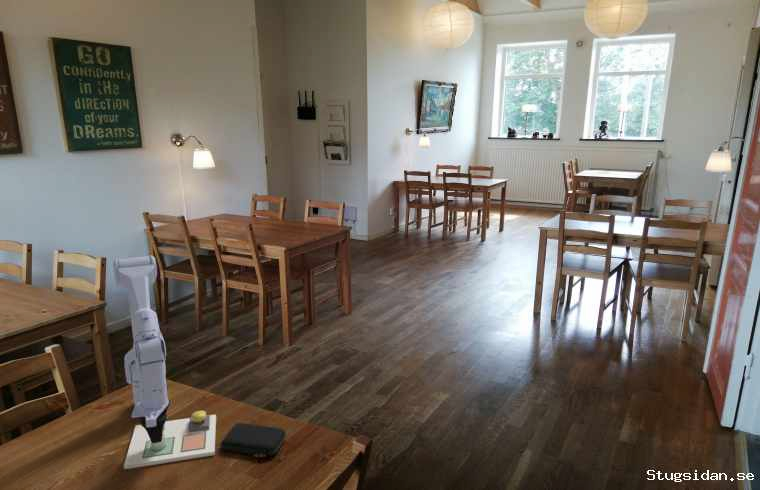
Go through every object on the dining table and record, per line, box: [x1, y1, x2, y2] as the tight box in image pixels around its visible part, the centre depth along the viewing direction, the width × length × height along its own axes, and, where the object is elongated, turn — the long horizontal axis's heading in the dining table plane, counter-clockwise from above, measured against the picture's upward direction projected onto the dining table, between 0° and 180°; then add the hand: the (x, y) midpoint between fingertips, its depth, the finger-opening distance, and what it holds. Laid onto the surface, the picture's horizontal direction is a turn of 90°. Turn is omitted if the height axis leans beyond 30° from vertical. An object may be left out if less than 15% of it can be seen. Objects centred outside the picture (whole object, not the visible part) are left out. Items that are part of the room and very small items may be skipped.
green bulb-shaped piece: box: [150, 424, 166, 451], centre depth 120 cm, size 4×4×6 cm
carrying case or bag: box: [220, 422, 287, 458], centre depth 124 cm, size 11×3×15 cm
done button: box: [191, 410, 207, 423], centre depth 130 cm, size 4×4×2 cm
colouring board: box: [123, 414, 217, 470], centre depth 125 cm, size 16×20×2 cm
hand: (158, 435), depth 120 cm, fingers open, 4 cm apart
